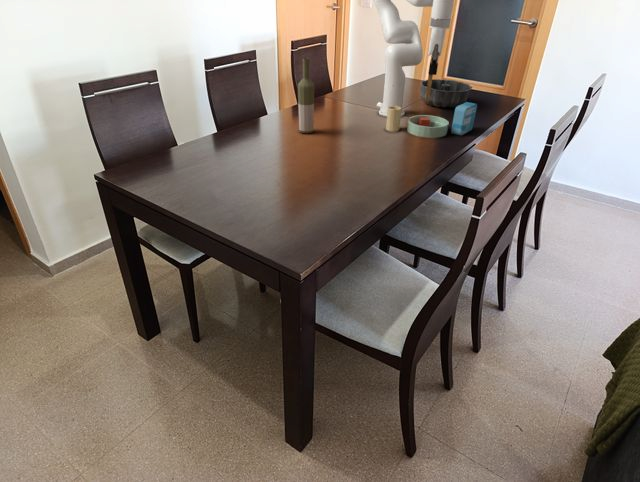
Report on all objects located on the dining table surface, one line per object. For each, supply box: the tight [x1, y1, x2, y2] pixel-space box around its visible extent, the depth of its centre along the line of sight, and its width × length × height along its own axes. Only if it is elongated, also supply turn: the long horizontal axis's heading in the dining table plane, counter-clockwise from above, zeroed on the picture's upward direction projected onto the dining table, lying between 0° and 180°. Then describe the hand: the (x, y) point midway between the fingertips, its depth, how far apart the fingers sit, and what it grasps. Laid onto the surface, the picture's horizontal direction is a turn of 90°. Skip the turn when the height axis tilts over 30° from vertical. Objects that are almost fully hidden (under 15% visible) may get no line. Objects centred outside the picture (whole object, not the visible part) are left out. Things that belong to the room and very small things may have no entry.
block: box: [418, 117, 430, 127], centre depth 192 cm, size 4×4×4 cm
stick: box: [425, 60, 434, 101], centre depth 175 cm, size 2×2×16 cm
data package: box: [450, 101, 478, 137], centre depth 186 cm, size 12×4×12 cm, turn 138°
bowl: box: [406, 114, 449, 139], centre depth 187 cm, size 17×17×5 cm
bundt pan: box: [419, 78, 473, 109], centre depth 225 cm, size 26×26×10 cm
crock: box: [385, 106, 403, 132], centre depth 187 cm, size 6×6×10 cm
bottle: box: [297, 57, 315, 134], centre depth 179 cm, size 7×7×30 cm
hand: (432, 73), depth 174 cm, fingers closed on stick, 1 cm apart
